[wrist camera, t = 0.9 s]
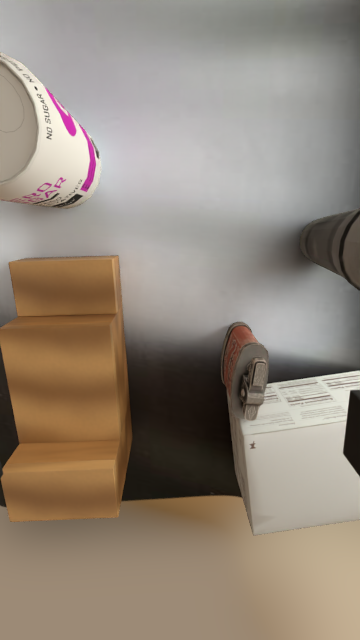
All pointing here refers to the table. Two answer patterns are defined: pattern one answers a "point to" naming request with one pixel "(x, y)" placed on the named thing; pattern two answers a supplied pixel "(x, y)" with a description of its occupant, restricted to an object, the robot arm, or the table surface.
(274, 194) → the table surface
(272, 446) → the supplement box
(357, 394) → the robot arm
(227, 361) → the lighter
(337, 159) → the table surface
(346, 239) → the beverage cup
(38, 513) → the step shelf
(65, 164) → the supplement can
